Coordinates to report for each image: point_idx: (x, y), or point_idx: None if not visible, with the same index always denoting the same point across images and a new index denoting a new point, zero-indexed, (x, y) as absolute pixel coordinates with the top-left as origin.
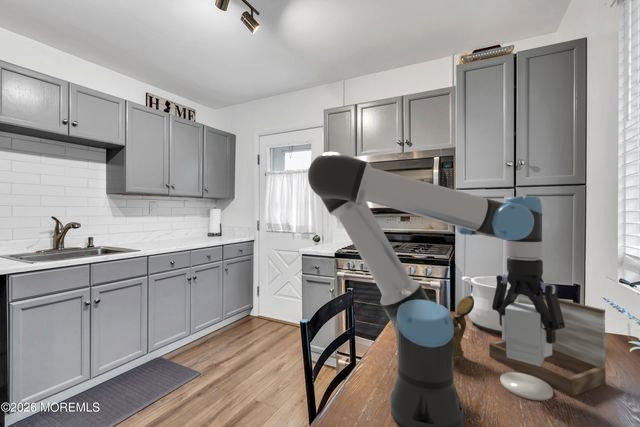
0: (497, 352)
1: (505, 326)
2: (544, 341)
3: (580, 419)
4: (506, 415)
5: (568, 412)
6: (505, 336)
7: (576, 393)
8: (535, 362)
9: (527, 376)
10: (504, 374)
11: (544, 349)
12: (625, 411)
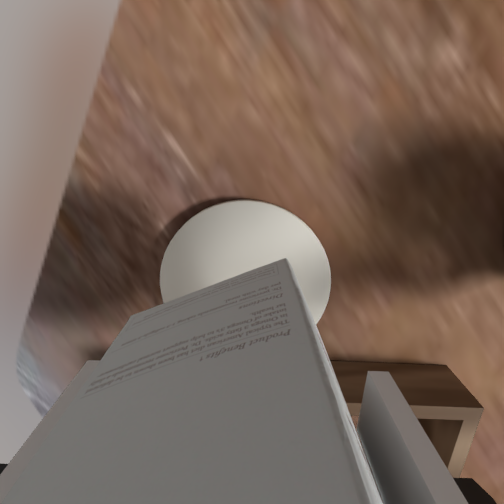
0: (427, 387)
1: (417, 483)
2: (17, 456)
3: (55, 255)
4: (153, 25)
5: (92, 259)
6: (378, 401)
7: None
8: (147, 314)
9: None
10: (326, 280)
11: (60, 397)
12: (48, 399)
